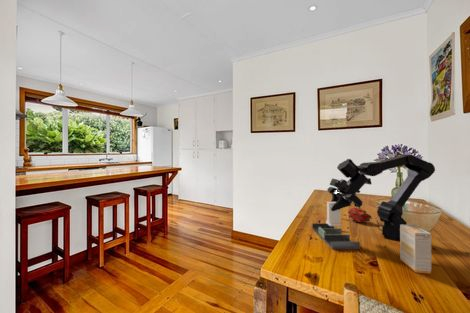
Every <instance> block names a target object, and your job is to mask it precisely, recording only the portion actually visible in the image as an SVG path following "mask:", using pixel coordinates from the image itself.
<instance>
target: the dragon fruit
mask: <svg viewBox="0 0 470 313" xmlns="http://www.w3.org/2000/svg"><path fill="white" fill-rule="evenodd" d="M367 212H368V211H366V210H364V209H361V207H360V208H358V207H356V206H354V207H352V208H350V209H349V210H348V211H347V214H348V215H347V216H348V218H350V219H353V221H354V222H358V223H360V224H365V222H370V220H373V217H372V216H371V214H369V213H367Z"/></svg>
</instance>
